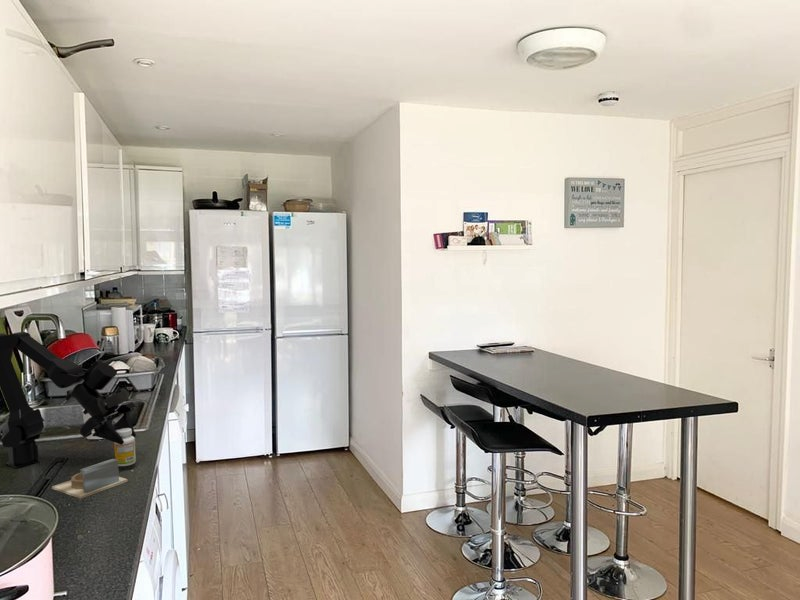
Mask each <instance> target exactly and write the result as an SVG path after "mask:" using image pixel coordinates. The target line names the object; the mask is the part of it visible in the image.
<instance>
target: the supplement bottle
mask: <svg viewBox="0 0 800 600" xmlns="http://www.w3.org/2000/svg"><path fill="white" fill-rule="evenodd" d="M116 431H117V433H118V434H119V435H120V436H121V438H122V439H123V441H124V443H123V444H118V443H115V442H113V445H114V446H113V448H114V449H113V450H114V459H116V460H118V467H127V466H131V465H133V464H135V463H136V460H137V458H136V440H135V439H136V438H134V437H133V436H131V434H132V429H131V428H123V429H117V430H116Z"/></svg>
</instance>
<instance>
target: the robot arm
mask: <svg viewBox="0 0 800 600" xmlns="http://www.w3.org/2000/svg"><path fill="white" fill-rule="evenodd" d="M14 348H15V349H16V350H18V351H19V352H20V353H22V354H23V355H25V356H26V357H27V358H28V359H29V360H31V361H33V362H34V363H35V364H36V365H38V366H39V367H41V368H42V369H43V370H44V371H46V373H47V376H48V378H49V380H51V382H52V383H53V384H54V385H55V386H56V387H57V388H58V389H67V388H69V387H73V386H74V387H73V388H72V389H68V390H66V396H65V401H67V402H68V401H70V400H74V399H75V401H76V402H77V403H78V404H79V405H80V406H81V407H82V408H83V409H85V410H84V411H83V410H82V414H83V413H84V414H88V413H89V414H90V416H91V418H89V419H88V420H87V421H86V422H85V423H84V422H83V424H82V425H81V426H80V428H79V434H80V436H81V437H83V438H84V439H86V437H88V436H90V435H91V434H92V430H93V429H94V431H95V433H94V434H93V435H92V436H97V437H100V438H104V440H107V441H110V442H112V443H114V442H115V443H118V444H123V443H124V441H123V439H122V438H121V436H120V435H119V434H118V433H117V430H119V429H123V428H131V429H132V434H131V436H133V437H134V438H135V437H136V436H137V435H136V432H135V430H134V427H133V424H132V422H131V414H132V412H133V411H134V410H135V409H136V408H137V406H136V405H135V403H134V402H132V401H130V398H129V397H130V394H131V393H130V392H129V391H128V390H127V389H126V388H124V387H122V388H120V389H118V390H116V391H115V394H112V395H110V396H109V395H108V394H104V395H103V394H101V393H100V390H101V391H102V390H104V389H105V387H107V385H109V384H110V382H111V381H112V380H114V377H116V376H117V371H116V369H115V367H114V366H113V365H110V364H108V363H106V362H102V360H101V359H97V360H95V361H93V362H92V364H91V366H90V367H89V368H88V369H87V368H83V367H82V366H81V365H79V364H77V363H75V362H73V361H71V360H67V359H63V358H61V357H59V356H58V355H56V354H55V353H53V352H52V351H51V350H50V349H48V348H47V347H45V346H44V345H43V344H42V343H40V342H39V341H38V340H36V338H34V337H32V336H31V334H30V333H29V332H27V331H19V332H13V333H10V334H6V333H4V332H0V391H1V394H2V397H3V399H4V401H5V404H6V406H7V409H8V412H9V415H8V421H7V426H8V432H7V433H6V434H5V435H4V437H2V439H1V441H0V442H1V444H2V446H3V448H7V452H8V453H7V454H8V461H7V462H6V463H7V464H8V465H7V464H6V465H7V466H10V467H12V468H15V469H19V468H21V466H22V467H26V466H29V465H28V464H30V465H32V464H31V463H33V464H36V463H35V462H37V463H39V462H40V459H39V446H38V444H37V442H36V440H39V439H40V437H41V434H42V432H43V430H44V428H45V424H44V422H45V421H46V420H45V419H44V418H43V416H42V412H41V409H39V408H36V409H34V408H33V407H32V406H30V405H29V403H28V400H27V397H26V395H25V393H24V390H23V387H22V385H21V382H20V380H19V377H18V375H17V372H16V369H15V367H14V365H13V361H12V358H13V354H14ZM113 423H114V425H113ZM115 428H116V429H117V430H116V429H115ZM135 439H136V438H135ZM38 461H39V462H38ZM25 465H26V466H25Z"/></svg>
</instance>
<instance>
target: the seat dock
mask: <svg viewBox="0 0 800 600" xmlns="http://www.w3.org/2000/svg"><path fill="white" fill-rule="evenodd" d="M119 472H120V471H119V466H118V460H116V459H115V458H111V459H108V460H104V461H101V462H99V463H96V464H93V465H89V466H86V467H84V468H80V469H79V472H78V473H75V474H74V475H72V476H71V477H70V480H67V481H63V482H61V483H58V484H56V485H52V486H51V490H54V491H57V492H60V493H63V494H66V495H68V496H72V497H75V498H76V499H80V500H81V499H84V498H87V497H89V496H92V495H95V494H97V493H100V492H103V491H105V490H109V489H112V488H113V487H114V488H115V487H116V486H119V485H122V484H125V483H127V482H128V479H127V478H124V477H121V476H120V473H119Z"/></svg>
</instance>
